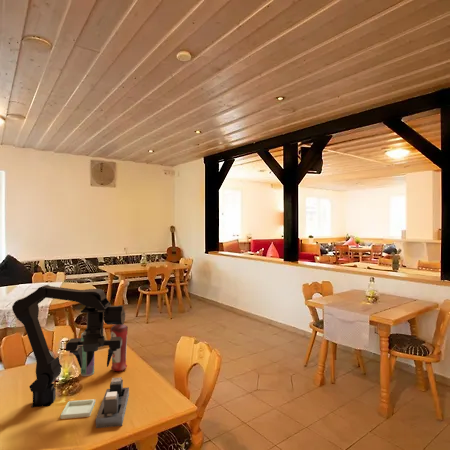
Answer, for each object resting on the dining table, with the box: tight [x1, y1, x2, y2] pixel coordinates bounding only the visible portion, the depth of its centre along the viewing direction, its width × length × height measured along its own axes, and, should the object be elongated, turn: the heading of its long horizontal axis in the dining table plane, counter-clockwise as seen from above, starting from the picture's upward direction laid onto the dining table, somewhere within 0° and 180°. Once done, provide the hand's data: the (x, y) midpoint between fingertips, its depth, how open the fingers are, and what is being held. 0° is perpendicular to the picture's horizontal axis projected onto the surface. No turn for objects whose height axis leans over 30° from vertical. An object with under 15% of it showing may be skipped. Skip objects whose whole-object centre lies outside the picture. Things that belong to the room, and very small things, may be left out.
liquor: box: [110, 323, 128, 373], centre depth 154 cm, size 7×7×28 cm
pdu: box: [95, 377, 130, 429], centre depth 119 cm, size 8×20×8 cm, turn 10°
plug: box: [104, 391, 119, 414], centre depth 114 cm, size 4×4×8 cm
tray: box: [60, 398, 96, 420], centre depth 119 cm, size 9×9×2 cm
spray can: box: [80, 327, 95, 377], centre depth 150 cm, size 6×6×20 cm
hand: (94, 367), depth 125 cm, fingers open, 9 cm apart
